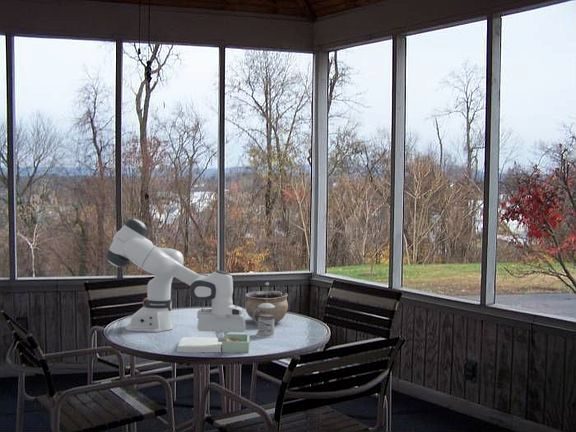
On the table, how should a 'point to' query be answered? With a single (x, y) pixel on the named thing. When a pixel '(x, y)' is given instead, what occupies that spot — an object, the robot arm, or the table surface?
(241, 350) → the tray
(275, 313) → the ceramic bowl
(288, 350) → the table surface
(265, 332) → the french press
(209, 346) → the white square board
